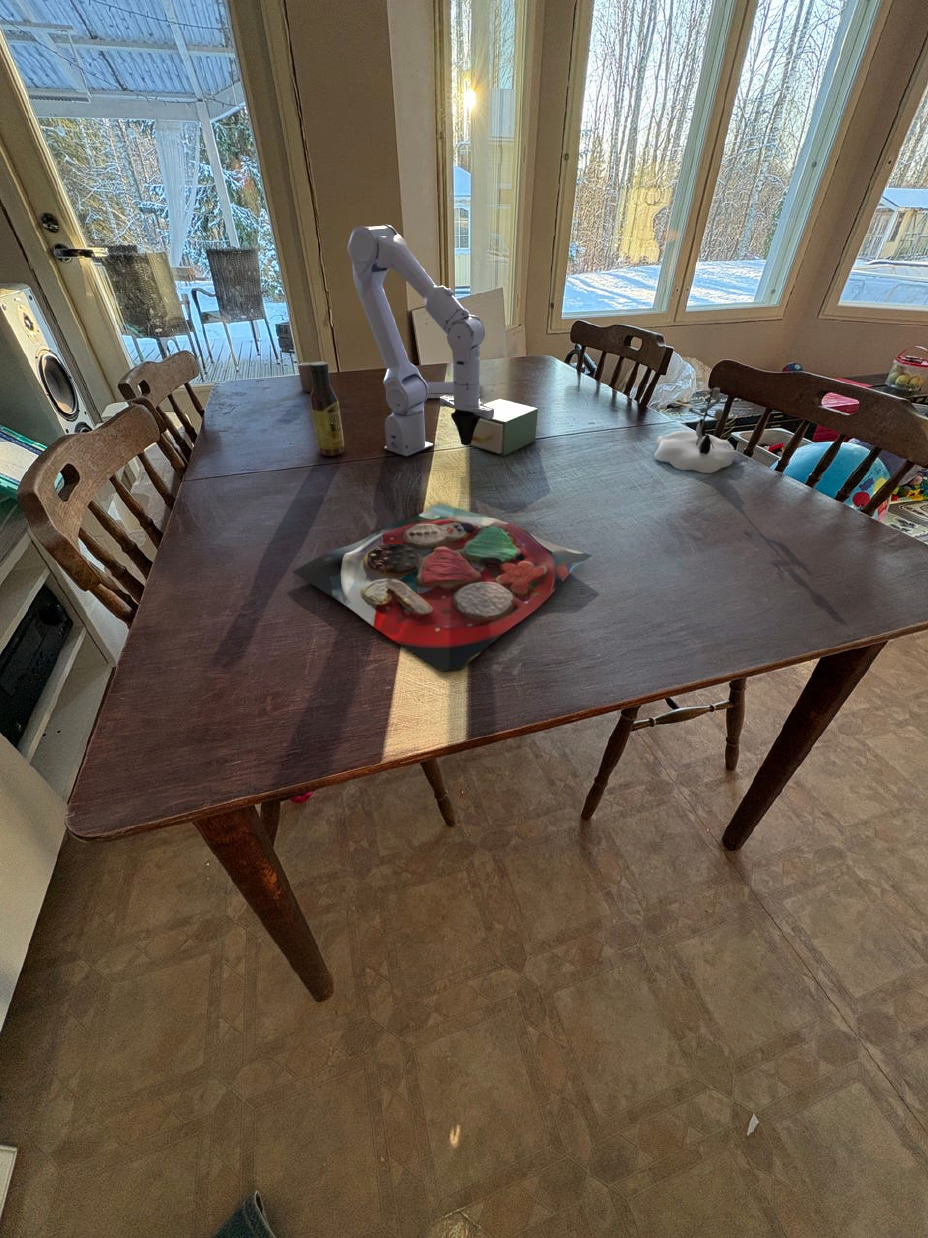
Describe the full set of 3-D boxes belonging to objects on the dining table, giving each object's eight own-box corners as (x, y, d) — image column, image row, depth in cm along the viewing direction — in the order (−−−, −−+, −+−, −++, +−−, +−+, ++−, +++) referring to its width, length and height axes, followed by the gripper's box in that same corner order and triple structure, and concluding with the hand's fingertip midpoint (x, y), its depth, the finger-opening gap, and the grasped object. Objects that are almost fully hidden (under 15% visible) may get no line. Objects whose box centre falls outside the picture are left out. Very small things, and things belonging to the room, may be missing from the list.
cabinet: (503, 455, 122) (505, 421, 117) (466, 443, 129) (466, 411, 123) (535, 440, 130) (538, 408, 125) (498, 430, 136) (499, 398, 131)
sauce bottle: (339, 458, 122) (324, 367, 109) (315, 456, 123) (297, 366, 110) (349, 448, 127) (336, 360, 114) (326, 446, 128) (310, 359, 115)
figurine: (665, 431, 132) (681, 364, 120) (740, 445, 124) (765, 375, 113) (641, 465, 120) (657, 394, 108) (723, 483, 113) (749, 409, 101)
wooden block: (320, 390, 166) (315, 363, 161) (311, 393, 163) (306, 365, 158) (311, 388, 168) (306, 361, 163) (302, 391, 165) (297, 364, 160)
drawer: (487, 458, 119) (487, 430, 115) (452, 447, 125) (452, 420, 120) (529, 439, 129) (531, 412, 125) (495, 429, 134) (496, 404, 130)
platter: (439, 503, 103) (439, 494, 102) (591, 566, 85) (593, 556, 84) (293, 576, 83) (290, 566, 82) (451, 679, 65) (451, 668, 64)
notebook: (479, 386, 168) (415, 387, 168) (479, 381, 167) (414, 381, 167) (480, 398, 158) (412, 398, 158) (480, 392, 157) (411, 393, 157)
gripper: (504, 383, 109) (501, 446, 118) (454, 372, 117) (454, 432, 125) (482, 390, 105) (481, 455, 114) (432, 378, 113) (434, 439, 121)
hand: (466, 443), depth 119 cm, fingers closed, pressing on drawer
